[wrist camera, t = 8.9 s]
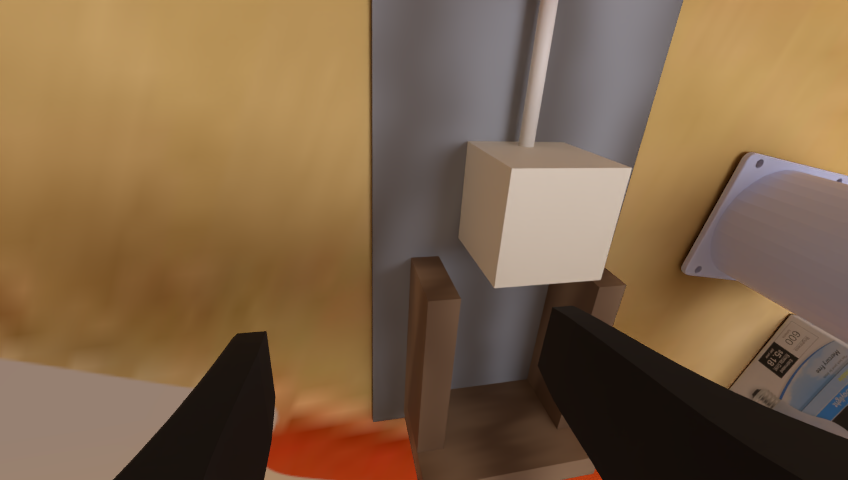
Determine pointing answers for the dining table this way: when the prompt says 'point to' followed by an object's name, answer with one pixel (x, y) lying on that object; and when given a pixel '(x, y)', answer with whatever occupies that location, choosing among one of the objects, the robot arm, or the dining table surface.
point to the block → (539, 196)
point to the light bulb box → (801, 376)
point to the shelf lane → (441, 208)
